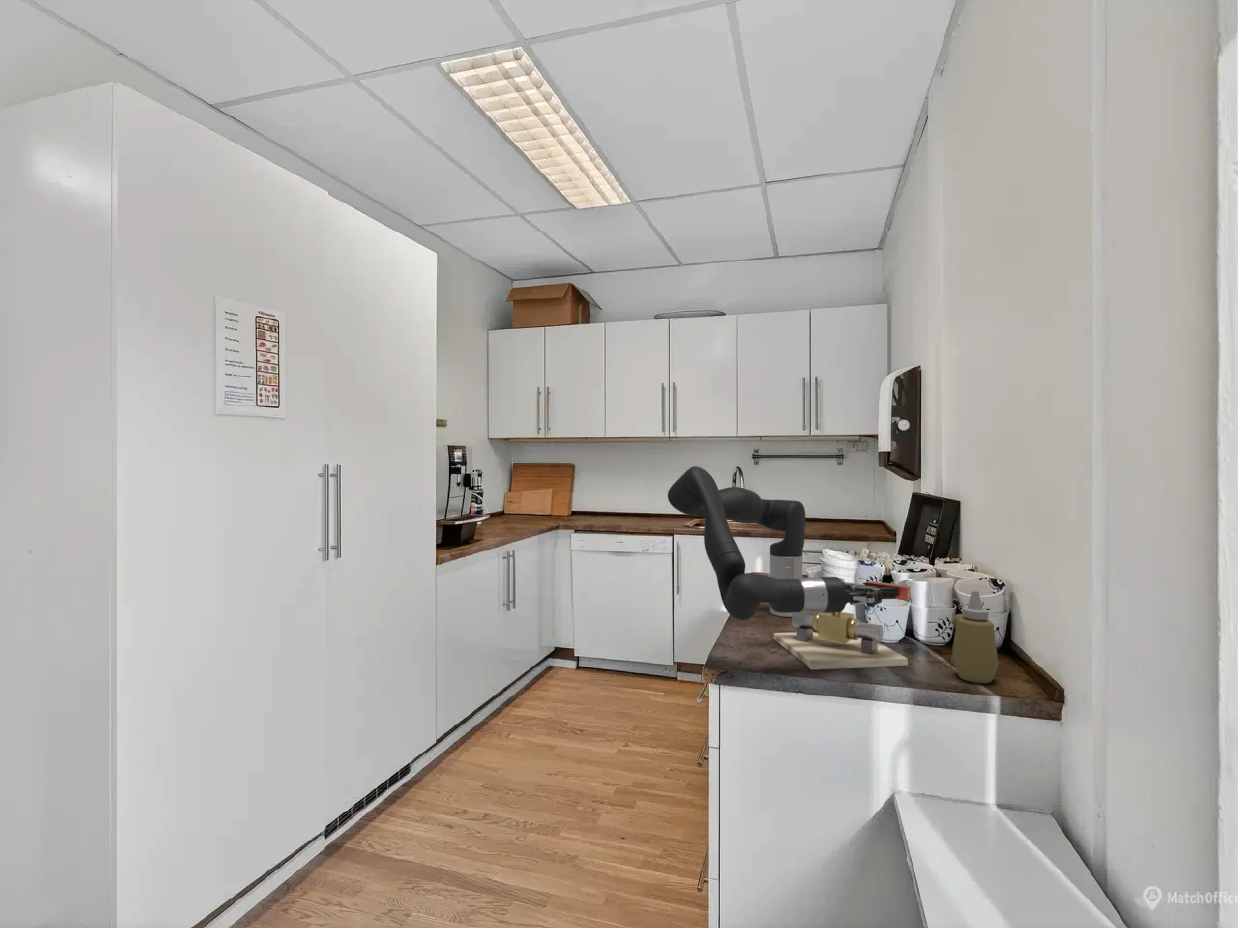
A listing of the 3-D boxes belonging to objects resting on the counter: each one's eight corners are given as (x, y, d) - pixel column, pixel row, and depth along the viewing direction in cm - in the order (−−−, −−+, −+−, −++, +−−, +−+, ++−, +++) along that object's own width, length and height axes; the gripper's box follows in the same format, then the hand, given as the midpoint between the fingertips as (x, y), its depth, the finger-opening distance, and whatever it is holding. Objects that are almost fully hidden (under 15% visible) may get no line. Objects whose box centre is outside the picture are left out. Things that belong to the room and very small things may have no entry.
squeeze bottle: (990, 674, 125) (990, 588, 125) (1004, 688, 117) (1004, 597, 117) (947, 670, 127) (948, 586, 127) (958, 683, 119) (958, 594, 119)
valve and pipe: (790, 639, 144) (790, 586, 144) (799, 634, 148) (799, 582, 148) (877, 656, 131) (877, 598, 131) (884, 650, 136) (884, 593, 136)
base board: (773, 638, 150) (773, 633, 150) (856, 636, 152) (856, 630, 152) (811, 669, 128) (811, 662, 128) (907, 665, 130) (907, 658, 130)
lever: (825, 589, 140) (825, 577, 140) (831, 587, 142) (831, 575, 142) (906, 601, 128) (906, 588, 128) (911, 598, 131) (911, 585, 131)
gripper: (832, 583, 121) (912, 581, 123) (805, 571, 134) (877, 570, 136) (832, 620, 121) (912, 618, 123) (805, 604, 134) (877, 603, 136)
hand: (894, 593), depth 130 cm, fingers closed
